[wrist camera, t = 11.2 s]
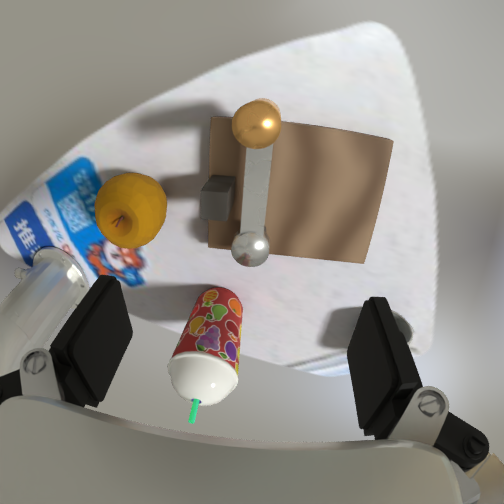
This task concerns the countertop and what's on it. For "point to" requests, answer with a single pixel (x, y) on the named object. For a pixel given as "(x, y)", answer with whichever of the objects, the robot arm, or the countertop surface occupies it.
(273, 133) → the lever
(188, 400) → the smoothie
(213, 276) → the countertop surface
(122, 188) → the apple
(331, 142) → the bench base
